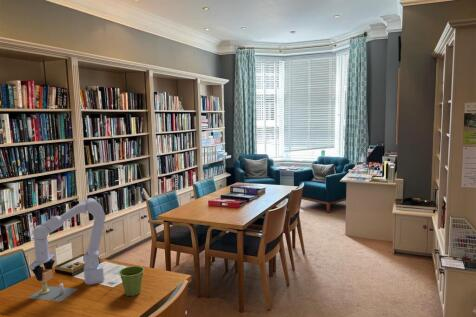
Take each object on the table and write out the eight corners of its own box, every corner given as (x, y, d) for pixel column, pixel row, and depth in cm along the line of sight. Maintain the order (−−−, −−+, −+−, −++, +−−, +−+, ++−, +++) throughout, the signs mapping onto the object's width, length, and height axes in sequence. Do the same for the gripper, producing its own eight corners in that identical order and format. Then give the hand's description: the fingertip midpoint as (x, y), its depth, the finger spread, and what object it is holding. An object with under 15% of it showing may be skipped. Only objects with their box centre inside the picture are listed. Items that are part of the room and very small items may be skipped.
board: (78, 291, 170) (77, 279, 170) (61, 304, 159) (60, 290, 158) (46, 288, 174) (45, 276, 173) (27, 301, 162) (26, 287, 162)
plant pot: (150, 289, 171) (149, 267, 170) (133, 301, 161) (132, 277, 159) (131, 285, 176) (130, 264, 175) (114, 296, 166) (113, 273, 164)
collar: (43, 276, 169) (43, 268, 169) (52, 277, 168) (52, 269, 168) (35, 281, 164) (35, 273, 164) (45, 282, 163) (44, 274, 163)
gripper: (45, 244, 173) (47, 270, 174) (22, 255, 159) (24, 284, 160) (58, 245, 171) (60, 271, 173) (35, 256, 157) (38, 285, 159)
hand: (44, 277), depth 166 cm, fingers closed on collar, 5 cm apart
